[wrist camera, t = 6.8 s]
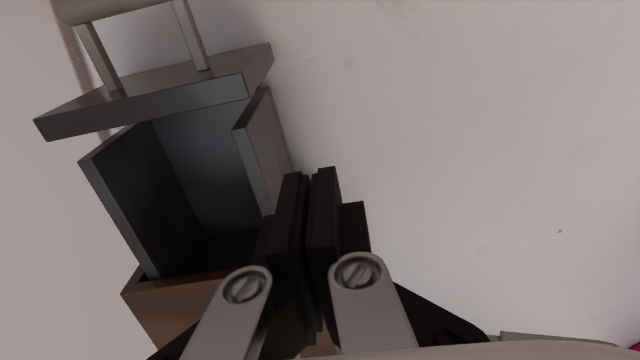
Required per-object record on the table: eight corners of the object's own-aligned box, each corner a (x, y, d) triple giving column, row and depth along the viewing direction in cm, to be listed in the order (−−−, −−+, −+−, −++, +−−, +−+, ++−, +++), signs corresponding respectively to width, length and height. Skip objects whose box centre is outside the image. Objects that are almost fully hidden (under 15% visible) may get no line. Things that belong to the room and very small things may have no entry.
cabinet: (179, 203, 30) (119, 294, 21) (317, 178, 28) (311, 265, 20) (237, 322, 37) (209, 425, 28) (351, 307, 35) (356, 411, 27)
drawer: (79, -1, 21) (-39, 11, 15) (245, -46, 20) (200, -56, 13) (196, 237, 30) (156, 314, 23) (318, 217, 29) (313, 292, 22)
